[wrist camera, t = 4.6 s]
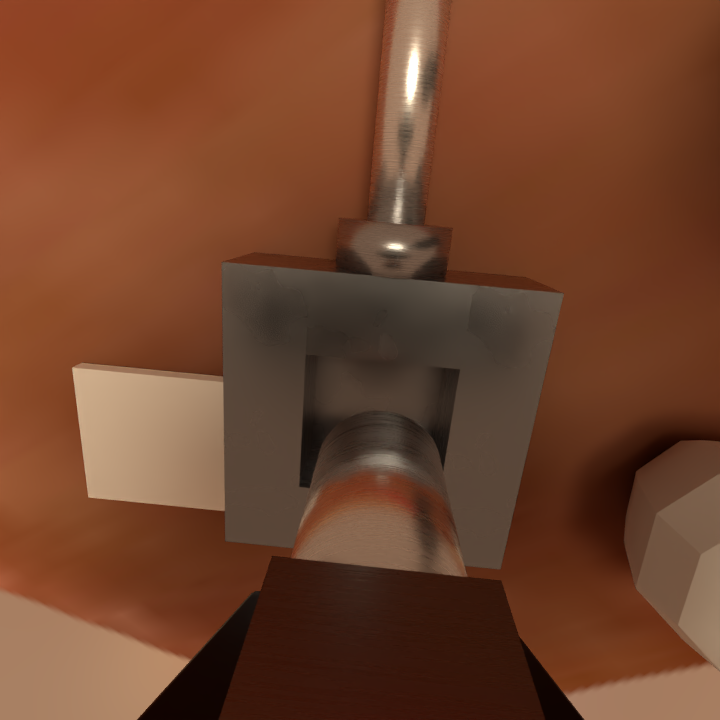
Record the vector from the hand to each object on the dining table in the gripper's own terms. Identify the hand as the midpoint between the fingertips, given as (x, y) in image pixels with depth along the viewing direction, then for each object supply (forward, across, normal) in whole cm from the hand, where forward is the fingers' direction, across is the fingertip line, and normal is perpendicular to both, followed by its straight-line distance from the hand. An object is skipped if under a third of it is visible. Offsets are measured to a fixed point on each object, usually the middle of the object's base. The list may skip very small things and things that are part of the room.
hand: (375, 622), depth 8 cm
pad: (+11, +9, +3) cm, 14 cm away
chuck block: (+11, 0, -5) cm, 12 cm away
